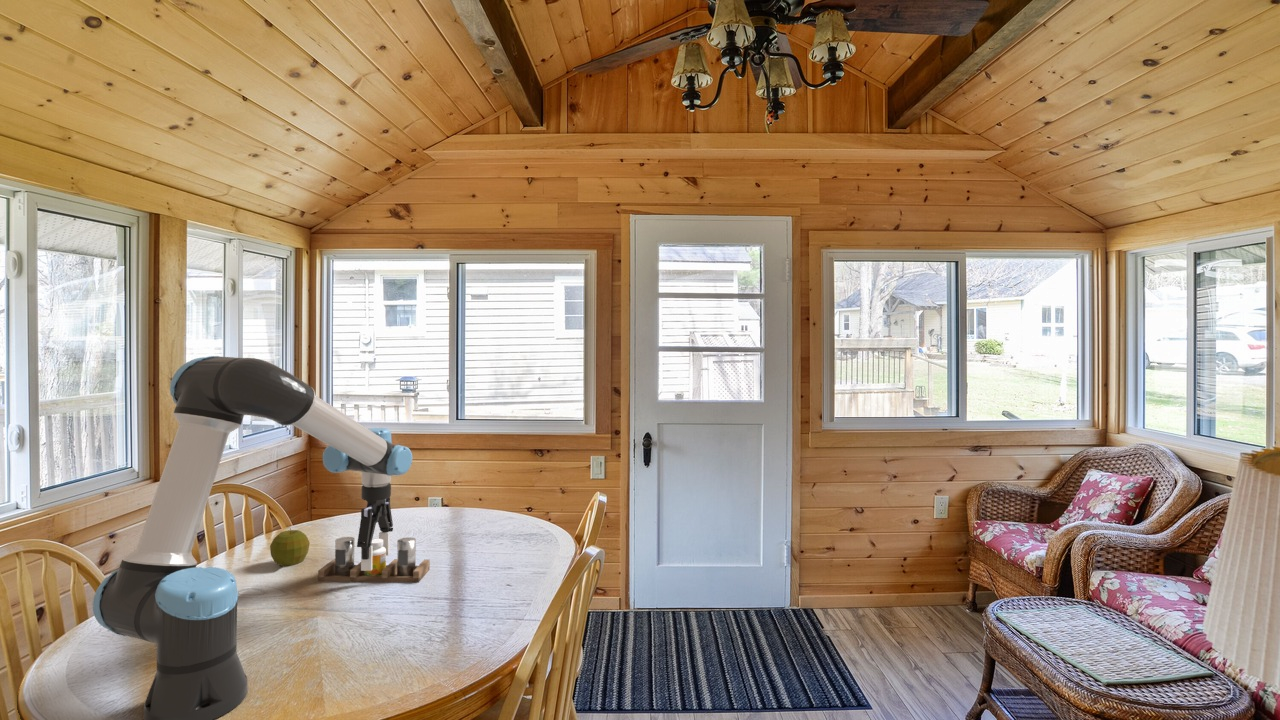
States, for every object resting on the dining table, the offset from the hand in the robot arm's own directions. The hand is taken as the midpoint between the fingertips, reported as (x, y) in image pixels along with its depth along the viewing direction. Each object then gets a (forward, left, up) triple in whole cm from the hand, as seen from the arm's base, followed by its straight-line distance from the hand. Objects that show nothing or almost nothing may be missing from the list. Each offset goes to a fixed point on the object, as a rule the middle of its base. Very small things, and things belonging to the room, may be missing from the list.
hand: (375, 562), depth 166 cm
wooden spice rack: (0, 0, -5) cm, 5 cm away
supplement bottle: (0, 0, -4) cm, 4 cm away
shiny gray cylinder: (0, +8, -4) cm, 9 cm away
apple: (+10, +29, -5) cm, 31 cm away
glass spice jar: (0, -9, -4) cm, 9 cm away
